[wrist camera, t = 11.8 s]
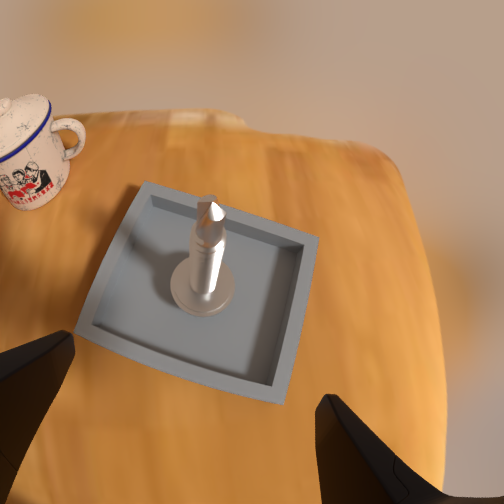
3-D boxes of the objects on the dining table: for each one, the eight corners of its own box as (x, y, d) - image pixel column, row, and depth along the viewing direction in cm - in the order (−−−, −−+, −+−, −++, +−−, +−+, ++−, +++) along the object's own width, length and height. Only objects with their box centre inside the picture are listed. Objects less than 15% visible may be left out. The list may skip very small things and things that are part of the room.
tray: (84, 337, 20) (73, 332, 17) (147, 196, 26) (144, 180, 24) (274, 402, 21) (283, 405, 18) (309, 249, 27) (319, 237, 25)
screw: (185, 256, 24) (239, 276, 24) (163, 308, 22) (220, 330, 22) (183, 145, 12) (284, 179, 12) (130, 231, 10) (252, 277, 10)
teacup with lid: (2, 221, 22) (-51, 154, 11) (17, 159, 25) (-16, 91, 14) (93, 200, 25) (57, 110, 14) (99, 138, 28) (81, 56, 18)
